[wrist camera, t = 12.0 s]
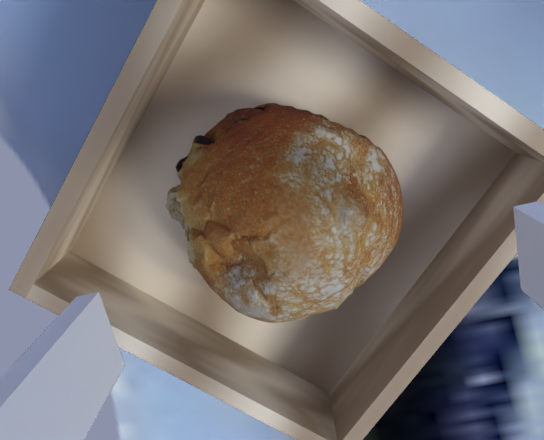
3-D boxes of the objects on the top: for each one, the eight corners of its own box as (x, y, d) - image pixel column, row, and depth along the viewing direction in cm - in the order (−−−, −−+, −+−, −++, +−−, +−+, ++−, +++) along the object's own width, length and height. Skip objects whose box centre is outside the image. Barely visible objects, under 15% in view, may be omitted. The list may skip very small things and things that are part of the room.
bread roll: (277, 282, 30) (339, 384, 23) (121, 220, 24) (145, 333, 17) (380, 146, 27) (480, 219, 21) (234, 41, 21) (309, 96, 15)
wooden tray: (529, 144, 24) (591, 163, 20) (331, 398, 29) (342, 463, 24) (224, -67, 22) (211, -105, 17) (57, 249, 26) (9, 289, 21)
